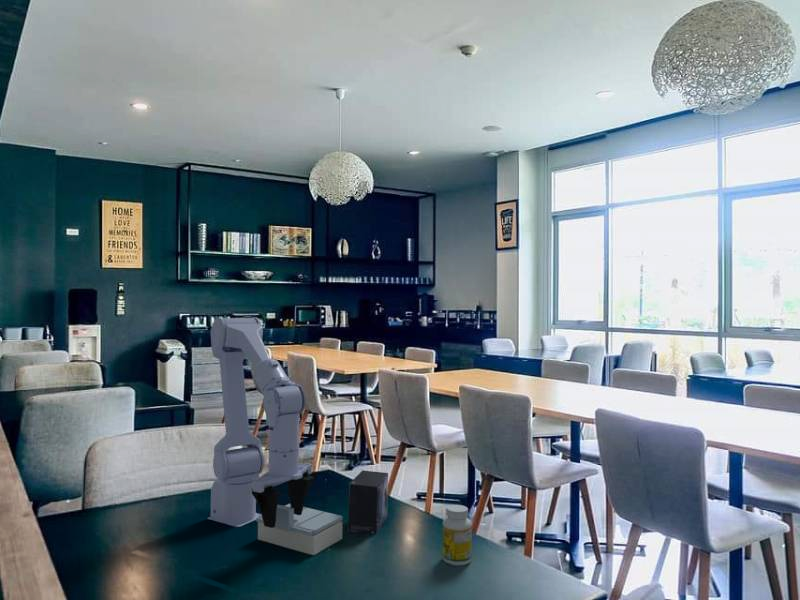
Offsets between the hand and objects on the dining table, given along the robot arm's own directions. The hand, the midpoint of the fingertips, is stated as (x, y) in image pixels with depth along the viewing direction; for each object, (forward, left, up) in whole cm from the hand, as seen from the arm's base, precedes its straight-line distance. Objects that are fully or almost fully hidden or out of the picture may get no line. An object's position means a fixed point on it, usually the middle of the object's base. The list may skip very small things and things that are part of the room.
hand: (283, 520), depth 113 cm
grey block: (0, +5, -6) cm, 8 cm away
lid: (0, +5, -2) cm, 5 cm away
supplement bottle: (+30, +14, -6) cm, 34 cm away
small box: (+7, +19, -6) cm, 21 cm away
